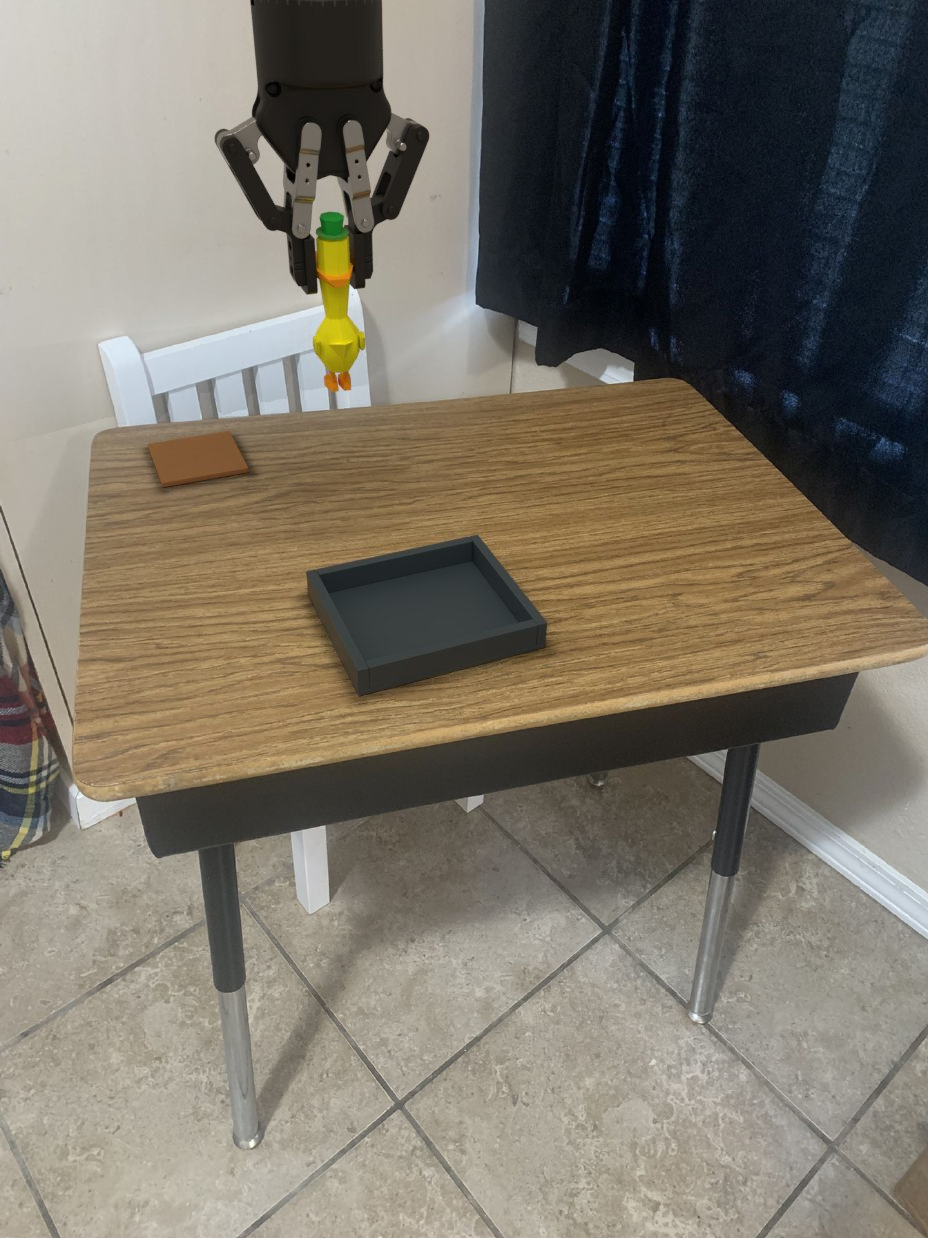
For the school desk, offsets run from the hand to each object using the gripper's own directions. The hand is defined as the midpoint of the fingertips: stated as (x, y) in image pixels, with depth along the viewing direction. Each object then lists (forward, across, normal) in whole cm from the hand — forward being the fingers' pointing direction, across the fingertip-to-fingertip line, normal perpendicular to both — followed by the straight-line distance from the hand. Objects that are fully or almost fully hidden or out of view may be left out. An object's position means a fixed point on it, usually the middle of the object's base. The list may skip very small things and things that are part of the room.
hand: (332, 286), depth 66 cm
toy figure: (+7, 0, 0) cm, 7 cm away
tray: (+23, -3, +9) cm, 25 cm away
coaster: (+23, +8, -22) cm, 33 cm away
